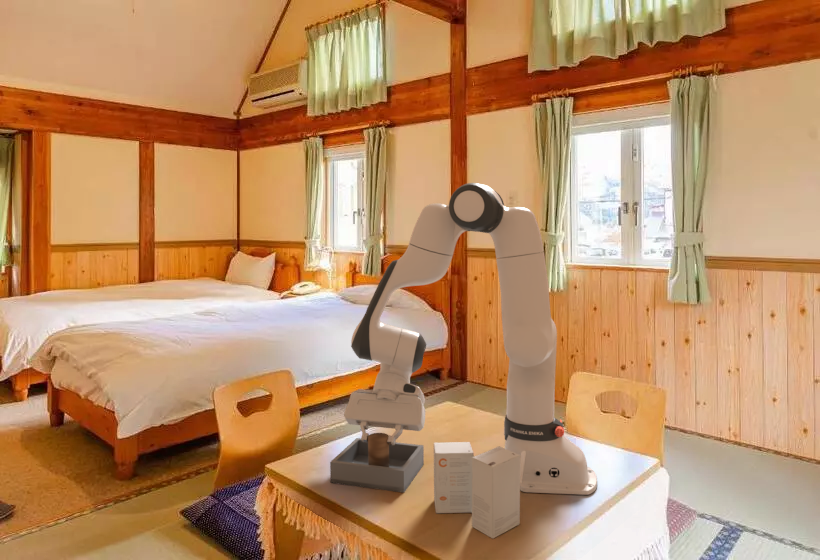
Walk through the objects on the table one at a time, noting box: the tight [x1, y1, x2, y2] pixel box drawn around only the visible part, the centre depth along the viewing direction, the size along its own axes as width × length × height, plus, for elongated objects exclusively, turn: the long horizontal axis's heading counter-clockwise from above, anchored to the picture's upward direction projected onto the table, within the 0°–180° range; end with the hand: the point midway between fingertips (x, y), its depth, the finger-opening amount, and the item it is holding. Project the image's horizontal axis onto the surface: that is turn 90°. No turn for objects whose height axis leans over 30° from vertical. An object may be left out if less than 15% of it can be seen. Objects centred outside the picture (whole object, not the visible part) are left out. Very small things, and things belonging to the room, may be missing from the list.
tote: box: [329, 437, 425, 494], centre depth 139 cm, size 18×16×5 cm
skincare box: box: [471, 446, 521, 539], centre depth 114 cm, size 8×6×15 cm
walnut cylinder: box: [368, 432, 390, 467], centre depth 139 cm, size 5×5×8 cm
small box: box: [433, 441, 475, 514], centre depth 122 cm, size 8×6×13 cm
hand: (377, 442), depth 138 cm, fingers open, 5 cm apart
